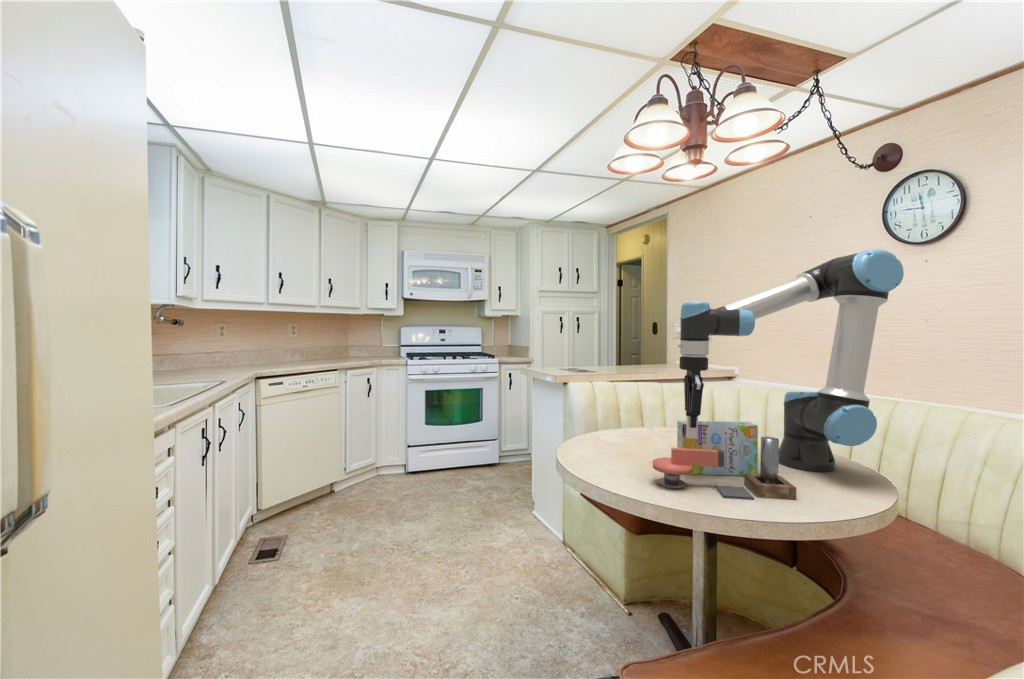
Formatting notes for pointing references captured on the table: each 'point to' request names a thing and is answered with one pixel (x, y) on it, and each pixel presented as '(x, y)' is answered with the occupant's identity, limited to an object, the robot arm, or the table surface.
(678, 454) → the grey-tipped salmon bar
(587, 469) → the table surface
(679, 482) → the wheel post
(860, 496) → the table surface
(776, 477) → the silver metal cylinder
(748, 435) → the snack box
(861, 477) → the table surface
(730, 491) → the pad
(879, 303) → the robot arm
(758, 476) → the block
